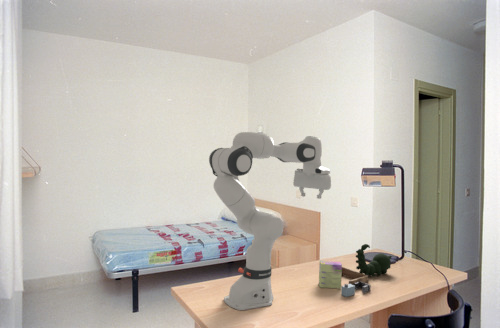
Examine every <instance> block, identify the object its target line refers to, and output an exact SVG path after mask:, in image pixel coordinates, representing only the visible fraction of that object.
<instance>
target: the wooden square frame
mask: <svg viewBox="0 0 500 328" xmlns="http://www.w3.org/2000/svg"><path fill="white" fill-rule="evenodd" d="M342 276H344V277H348V278H350V280H348V284H352V285H354V283H356V282H359V281H361V282H364V283H366V284H369V275H368V276H367V275H365V274H364V273H363V274H362V273H359V272H358V271H356V270H353V269H350V268H348V267H344V266H342Z"/></svg>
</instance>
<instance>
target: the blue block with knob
mask: <svg viewBox="0 0 500 328" xmlns="http://www.w3.org/2000/svg"><path fill="white" fill-rule="evenodd" d="M340 290H341V294H340V295H341V296H342V297H345V298H348V297H350V296H351V297H352V296H353V295H354V296H355V295H356V290H355V286H354V285H352V284H349V283H344V285H341V289H340Z"/></svg>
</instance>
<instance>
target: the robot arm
mask: <svg viewBox="0 0 500 328" xmlns="http://www.w3.org/2000/svg"><path fill="white" fill-rule="evenodd" d="M322 146H323V145H322V141H321V139H320V138H319V137H317V136H311V135H308V136H305V138H304V139H303V140H301V141H298V142H288V141H287V142H281V143H277V144H276V143H274V140H273V138H272V137H271V136H269V135H267V134H265V133H264V134H263V133H260V132H252V131H250V132H249V131H243V132H242V131H241V132H238V133H237V134H236V135H235V136H234V137H233V140H232V146H230V147H218V148H216V149H214V150H213V151H211V153H210V154H209V158H208V161H209V165H210V168H211V170H212V174H213V175H214V176H215V177H216V178H215V180H214V181H213V189H214V191H215V193H216V195H217V196H218V198H219V199H220V200H221V202H222V203H223V204H224V205H225V206H226V207H227V209H228V210H229V211H230V212H231V213H232V214H233V216H234V217H235V218H236V224H237V226H238V228H239V229H240V230H241V231H243V232H244V233H246V234H249V235H252V236H253V240H252V243H251V244H250V245H249V246H248V247H247V249H246V253H245V254H246V258H245V259H246V260H245V261H246V263H245V266H244V268H242V267H239V268H238V271H237V272H239V273H241V274H242V275H241V276H240V277H238V279H237V280H236V281H234V283H233V284H231V286H230V288H229V292H228V293H229V294H228V295H226V296H224V297H223V301H224V303H225V304H226V305H227V306H229V307H230V308H233V309H234V310H238V311H244V310H245V311H246V310H252V309H256V308H257V309H258V308H262V307H268V306H271V305H273V301H274V294H273V291H272V290H273V289H272V282H271V281H272V279H271V278H272V277H271V276H272V266H271V265H272V251H273V246H274V243H275V242H276V241H277V240H278V239H279V238H280V237H281V235H283V232H284V227H285V226H284V222H283V220H282V219H281V218H280V217H278V216H276V215H275V214H273V213H269V212H265V211H261V210H260V209H258V208H257V207H256V200H255V197H254V196H252V194H251V192H249V190H248V189H247V188H246V187H245V186H244V185H243V184H242V183H241V181H240V180H239V177H240V176H245V175H247V174H249V172H250V170H252V166H253V159H258V160H261V159H263V160H264V159H269V158H271V157H273V158H275V159H276V158H277V159H278V160H279V161H281V162H282V163H296V164H297V163H298V164H300V163H301V164H302V168H297V169H295V170H294V175H293V182H292V183H293V186H294V187H296V188H299V189H298V190H299V191H300V196H301V197H306V192H305V191H304V189H315V190H318V194H317V195H316V199H320V200H321V199H322V195H323V193H324V191H326V190H327V191H328V190H330V189H331V188H332V179H331V175H330V174H331V170H330V169H329V168H327V167H324V166H322V161H321V158H322Z"/></svg>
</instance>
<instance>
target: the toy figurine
mask: <svg viewBox="0 0 500 328" xmlns="http://www.w3.org/2000/svg"><path fill="white" fill-rule="evenodd" d="M367 248H368V249H370V248H371V246H370V244H367V243H365V244H363V245H361V247H360V248H359V249H358V250H356V251H355V253H356V254H355V258H356V260H355V263H356V264H358V265H356V270H359V273H362V274H365V275H367V276H368V277H369V276H370V277H371V278H374V277H376V275H377V276H381V275H382V274H387V272H388V270H389V269H391V264H392V262H391V259H392V257H393V256H392V255H387V254H385V253H377V254H375V255H374V256H373V258H372V260H371V261H369V263H367V261H366V256H365V250H366V249H367Z"/></svg>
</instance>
